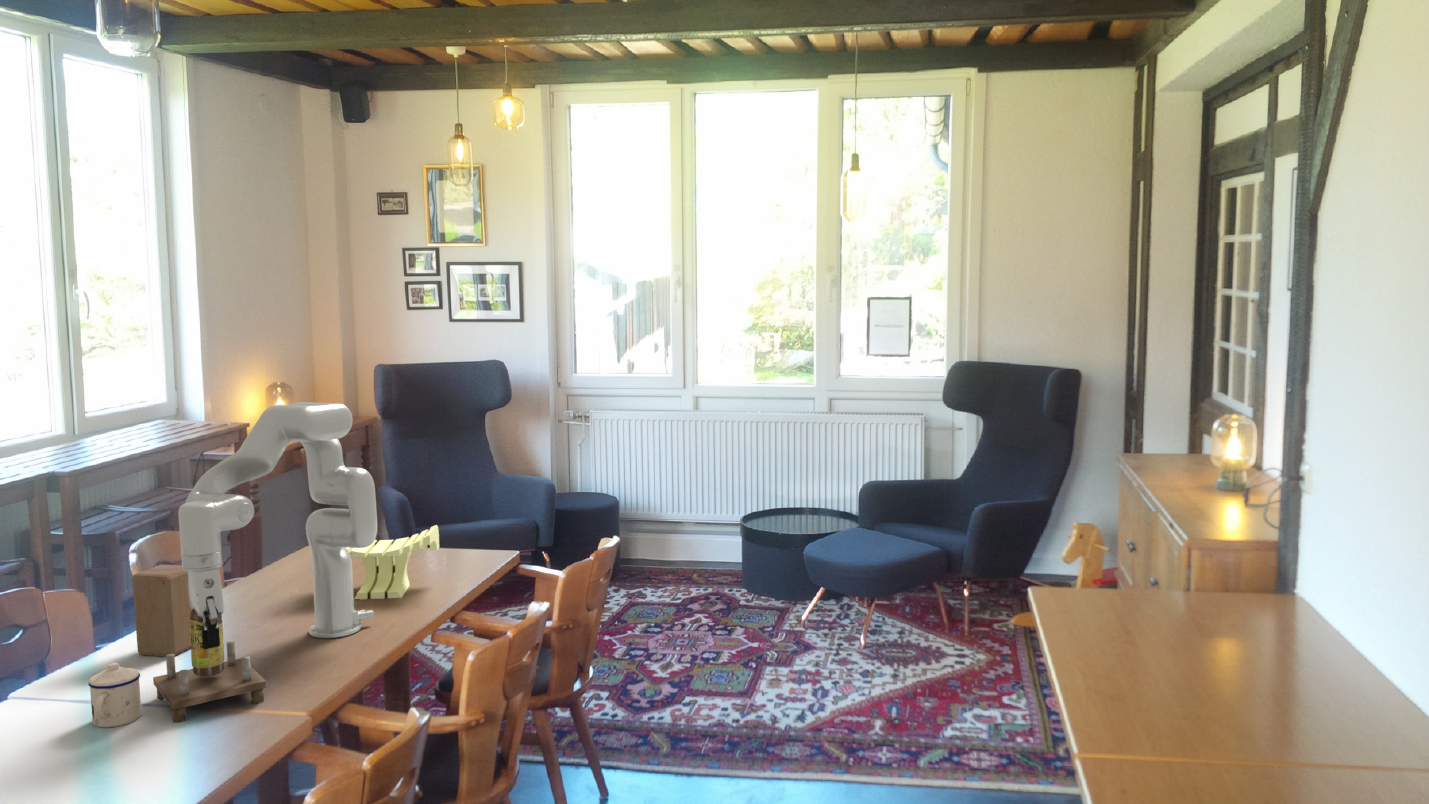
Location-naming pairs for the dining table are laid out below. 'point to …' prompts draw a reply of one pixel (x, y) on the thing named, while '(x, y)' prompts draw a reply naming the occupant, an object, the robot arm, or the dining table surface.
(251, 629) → the dining table surface
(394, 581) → the slatted curved stool
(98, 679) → the teacup with lid
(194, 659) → the sauce bottle
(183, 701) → the peg shelf
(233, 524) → the robot arm
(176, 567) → the wooden block
